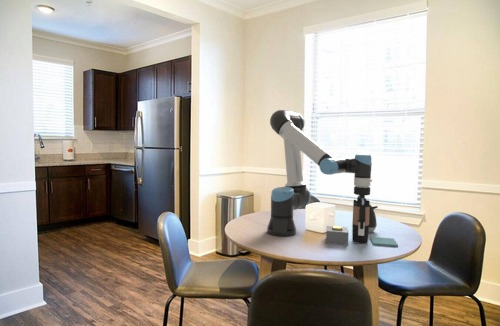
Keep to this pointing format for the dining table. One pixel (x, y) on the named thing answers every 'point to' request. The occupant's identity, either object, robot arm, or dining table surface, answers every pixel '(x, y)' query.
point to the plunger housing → (337, 236)
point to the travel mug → (355, 236)
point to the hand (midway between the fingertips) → (360, 232)
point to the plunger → (337, 228)
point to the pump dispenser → (372, 219)
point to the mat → (383, 241)
